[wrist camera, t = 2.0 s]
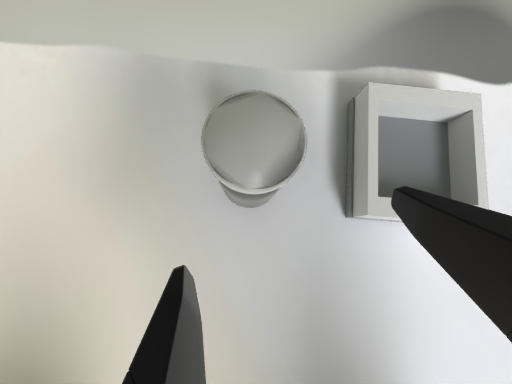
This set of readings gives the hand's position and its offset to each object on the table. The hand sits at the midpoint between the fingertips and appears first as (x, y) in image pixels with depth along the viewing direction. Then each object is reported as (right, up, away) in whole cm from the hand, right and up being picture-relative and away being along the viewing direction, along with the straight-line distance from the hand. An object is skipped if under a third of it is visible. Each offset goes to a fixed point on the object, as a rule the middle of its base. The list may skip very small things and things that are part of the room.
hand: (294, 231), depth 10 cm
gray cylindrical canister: (-2, +3, +12) cm, 13 cm away
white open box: (+12, +4, +13) cm, 18 cm away
